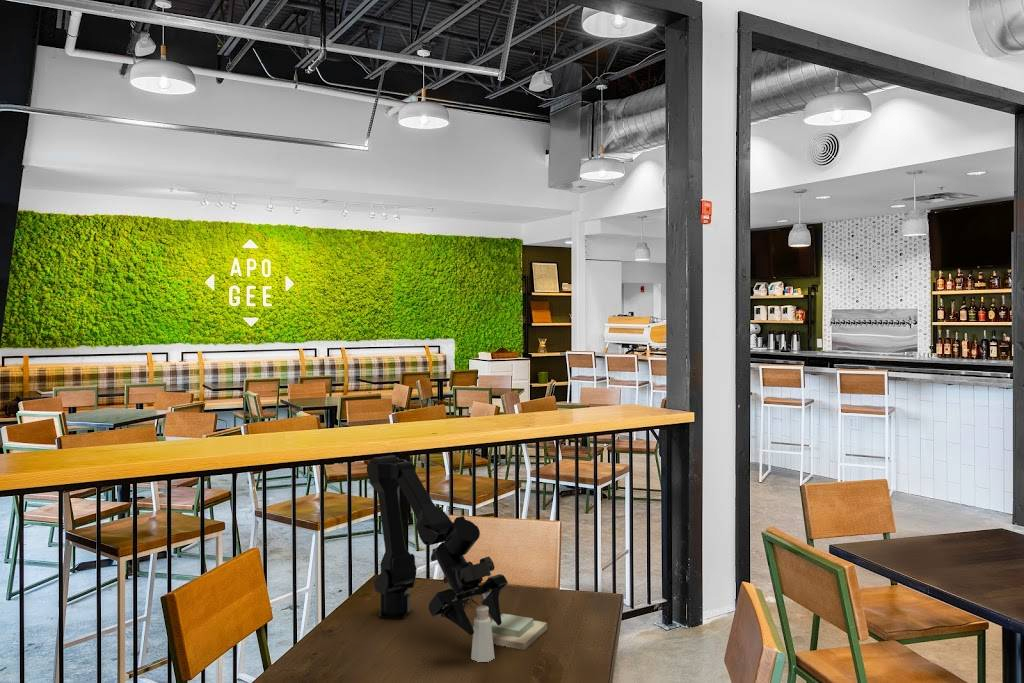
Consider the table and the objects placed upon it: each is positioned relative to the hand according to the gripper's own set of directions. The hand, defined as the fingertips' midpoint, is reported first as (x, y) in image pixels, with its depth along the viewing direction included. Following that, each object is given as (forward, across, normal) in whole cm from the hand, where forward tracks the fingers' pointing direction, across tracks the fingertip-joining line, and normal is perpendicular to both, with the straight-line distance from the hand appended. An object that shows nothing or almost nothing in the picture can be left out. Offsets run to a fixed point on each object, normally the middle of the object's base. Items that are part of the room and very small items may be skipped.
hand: (486, 629), depth 161 cm
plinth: (0, +13, +9) cm, 16 cm away
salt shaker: (+4, 0, +6) cm, 7 cm away
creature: (-15, +16, +25) cm, 33 cm away
